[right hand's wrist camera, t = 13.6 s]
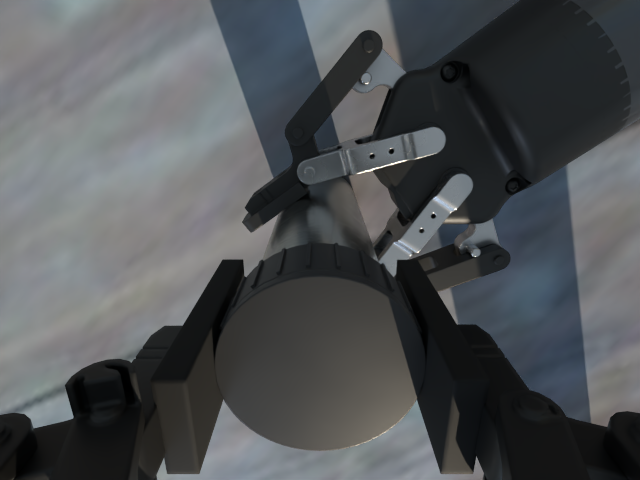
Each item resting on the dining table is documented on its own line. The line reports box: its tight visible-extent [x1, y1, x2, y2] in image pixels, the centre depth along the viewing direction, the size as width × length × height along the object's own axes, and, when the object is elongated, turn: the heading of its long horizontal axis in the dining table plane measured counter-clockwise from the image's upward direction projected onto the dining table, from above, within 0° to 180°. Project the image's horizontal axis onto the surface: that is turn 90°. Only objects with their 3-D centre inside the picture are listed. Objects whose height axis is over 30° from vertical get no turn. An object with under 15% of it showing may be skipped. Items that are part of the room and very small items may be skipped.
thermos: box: [263, 176, 379, 262], centre depth 19 cm, size 5×5×17 cm
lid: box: [214, 242, 426, 451], centre depth 12 cm, size 6×6×2 cm
